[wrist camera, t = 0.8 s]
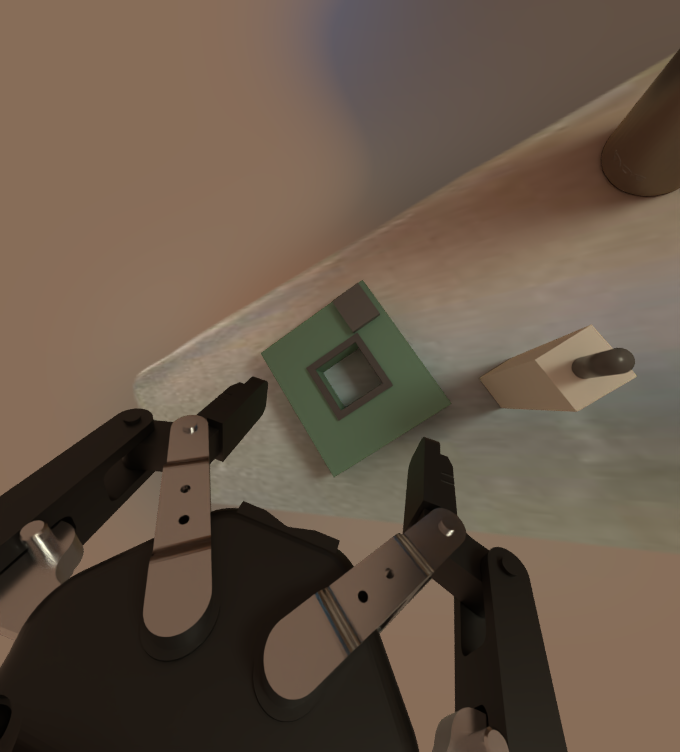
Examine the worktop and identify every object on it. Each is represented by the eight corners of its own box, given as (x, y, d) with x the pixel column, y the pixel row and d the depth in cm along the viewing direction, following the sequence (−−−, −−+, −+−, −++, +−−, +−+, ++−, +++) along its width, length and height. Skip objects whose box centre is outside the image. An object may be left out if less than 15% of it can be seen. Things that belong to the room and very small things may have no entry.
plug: (510, 358, 32) (627, 309, 15) (534, 388, 31) (684, 370, 15) (478, 378, 32) (559, 352, 16) (501, 408, 32) (610, 413, 15)
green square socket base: (365, 289, 36) (361, 276, 32) (447, 403, 33) (452, 403, 29) (271, 357, 38) (257, 352, 34) (339, 471, 35) (332, 479, 31)
